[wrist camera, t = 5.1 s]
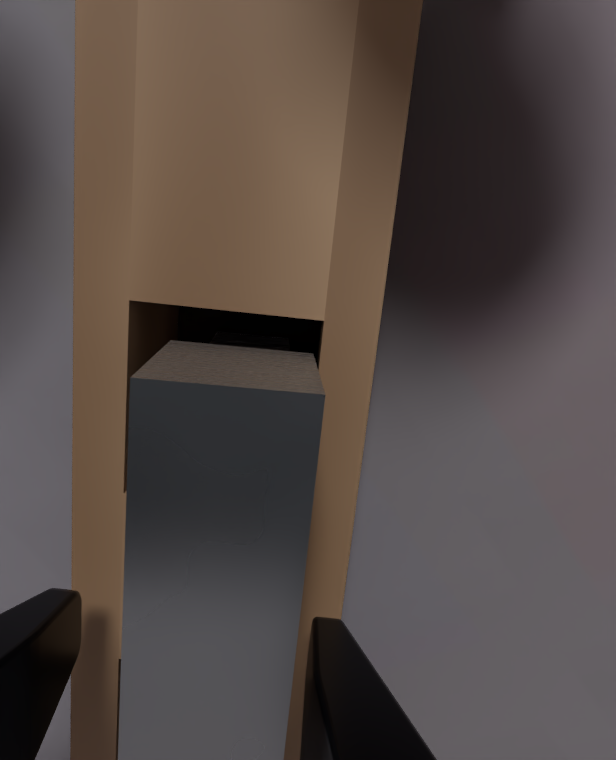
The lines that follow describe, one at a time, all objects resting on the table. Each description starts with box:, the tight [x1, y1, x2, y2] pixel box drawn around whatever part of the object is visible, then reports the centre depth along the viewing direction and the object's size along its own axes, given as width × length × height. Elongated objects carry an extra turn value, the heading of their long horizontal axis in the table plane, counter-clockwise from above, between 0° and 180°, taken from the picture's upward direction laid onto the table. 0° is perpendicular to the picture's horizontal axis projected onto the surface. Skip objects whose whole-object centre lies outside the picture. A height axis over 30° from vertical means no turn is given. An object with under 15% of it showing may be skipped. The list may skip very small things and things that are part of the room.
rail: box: [70, 0, 423, 760], centre depth 11 cm, size 4×20×3 cm, turn 174°
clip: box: [118, 331, 325, 760], centre depth 9 cm, size 2×8×6 cm, turn 174°
